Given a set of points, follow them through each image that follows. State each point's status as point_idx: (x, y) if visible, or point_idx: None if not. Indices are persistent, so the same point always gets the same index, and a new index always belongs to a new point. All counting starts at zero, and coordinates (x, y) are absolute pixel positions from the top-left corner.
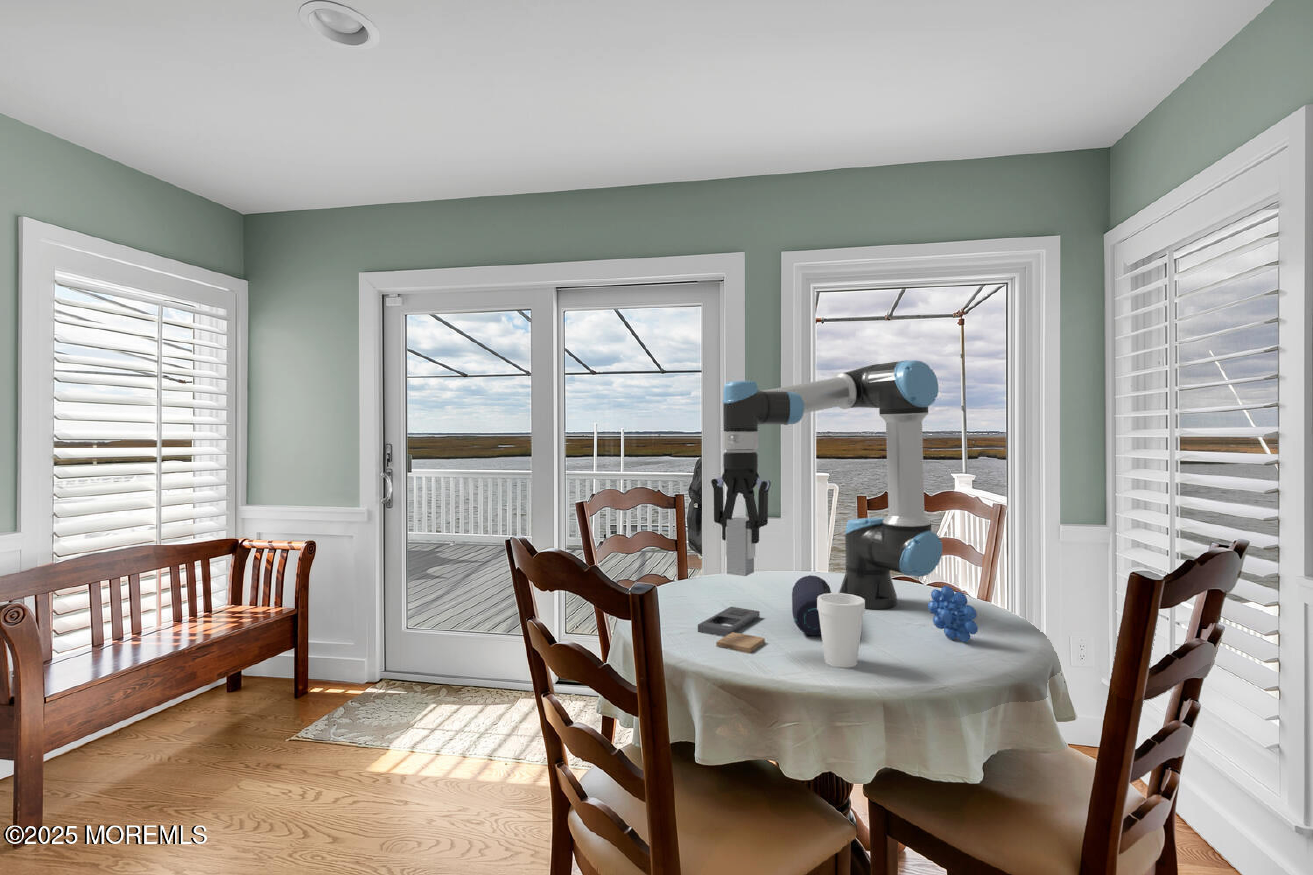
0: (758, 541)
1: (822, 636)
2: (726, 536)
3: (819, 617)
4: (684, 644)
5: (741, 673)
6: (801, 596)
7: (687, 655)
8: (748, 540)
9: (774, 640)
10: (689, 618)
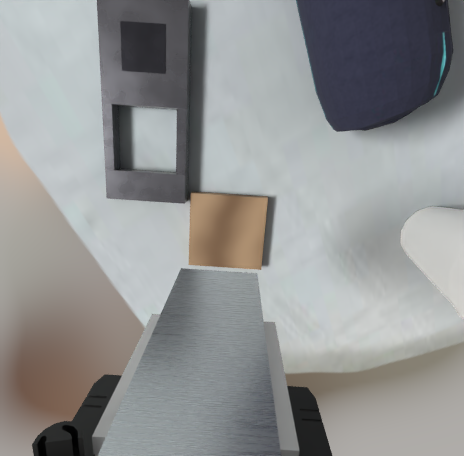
0: (311, 397)
1: (423, 268)
2: None
3: (441, 286)
4: (132, 277)
5: None
6: (361, 81)
7: None
8: None
9: (282, 173)
10: (42, 111)
